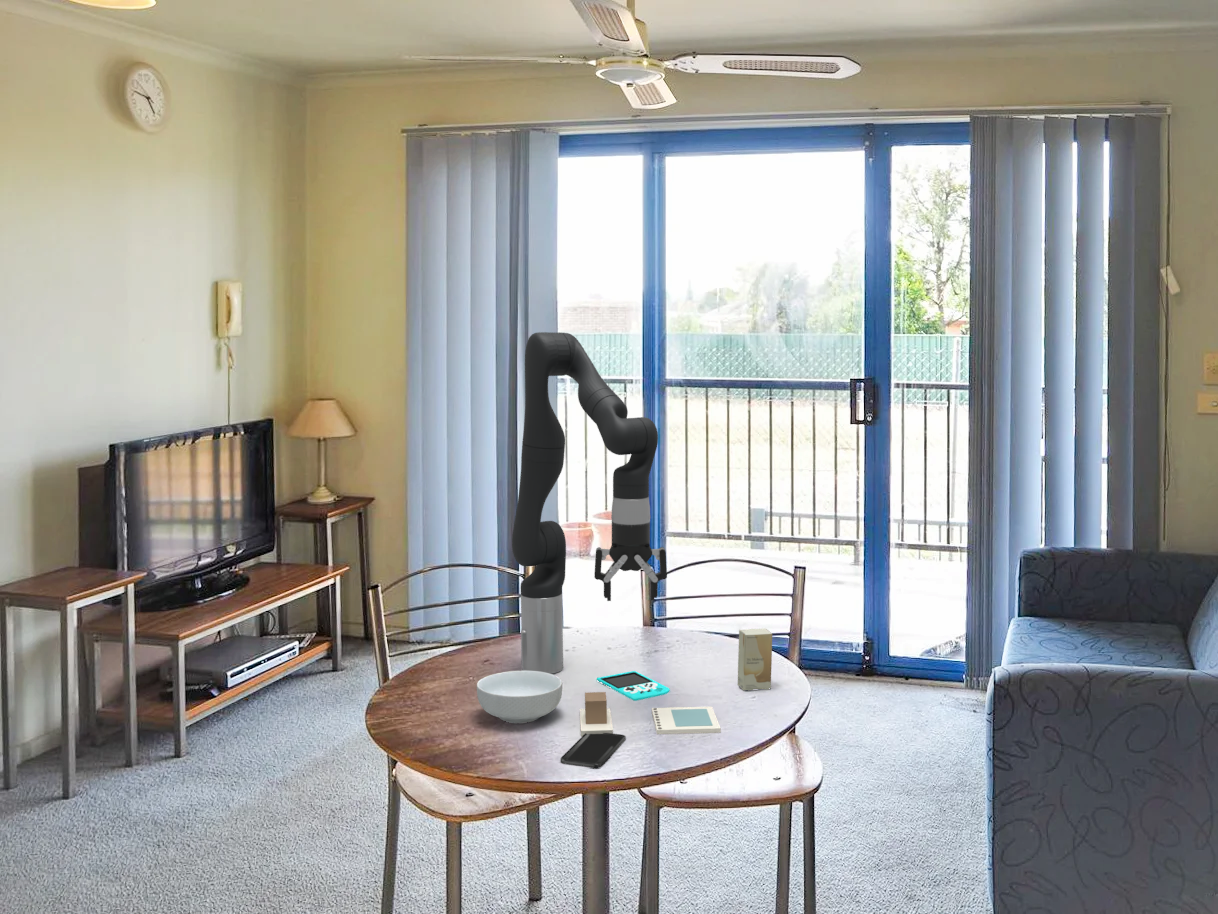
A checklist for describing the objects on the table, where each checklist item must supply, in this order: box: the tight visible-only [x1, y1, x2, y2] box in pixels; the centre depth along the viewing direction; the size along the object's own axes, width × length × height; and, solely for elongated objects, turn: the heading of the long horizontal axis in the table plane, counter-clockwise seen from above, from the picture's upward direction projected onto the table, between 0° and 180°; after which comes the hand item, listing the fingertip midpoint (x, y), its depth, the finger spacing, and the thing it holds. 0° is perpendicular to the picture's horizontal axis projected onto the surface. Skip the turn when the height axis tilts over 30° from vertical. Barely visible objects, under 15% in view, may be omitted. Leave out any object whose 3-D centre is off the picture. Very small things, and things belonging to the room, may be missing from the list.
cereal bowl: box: [476, 670, 563, 724], centre depth 219 cm, size 17×17×7 cm
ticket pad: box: [651, 706, 722, 735], centre depth 215 cm, size 12×12×1 cm
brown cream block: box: [579, 691, 614, 737], centre depth 214 cm, size 6×12×6 cm, turn 3°
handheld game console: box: [596, 670, 671, 701], centre depth 237 cm, size 10×16×1 cm, turn 30°
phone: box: [559, 732, 627, 770], centre depth 202 cm, size 8×1×15 cm
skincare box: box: [737, 627, 773, 691], centre depth 235 cm, size 6×4×12 cm
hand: (630, 599), depth 221 cm, fingers open, 8 cm apart
